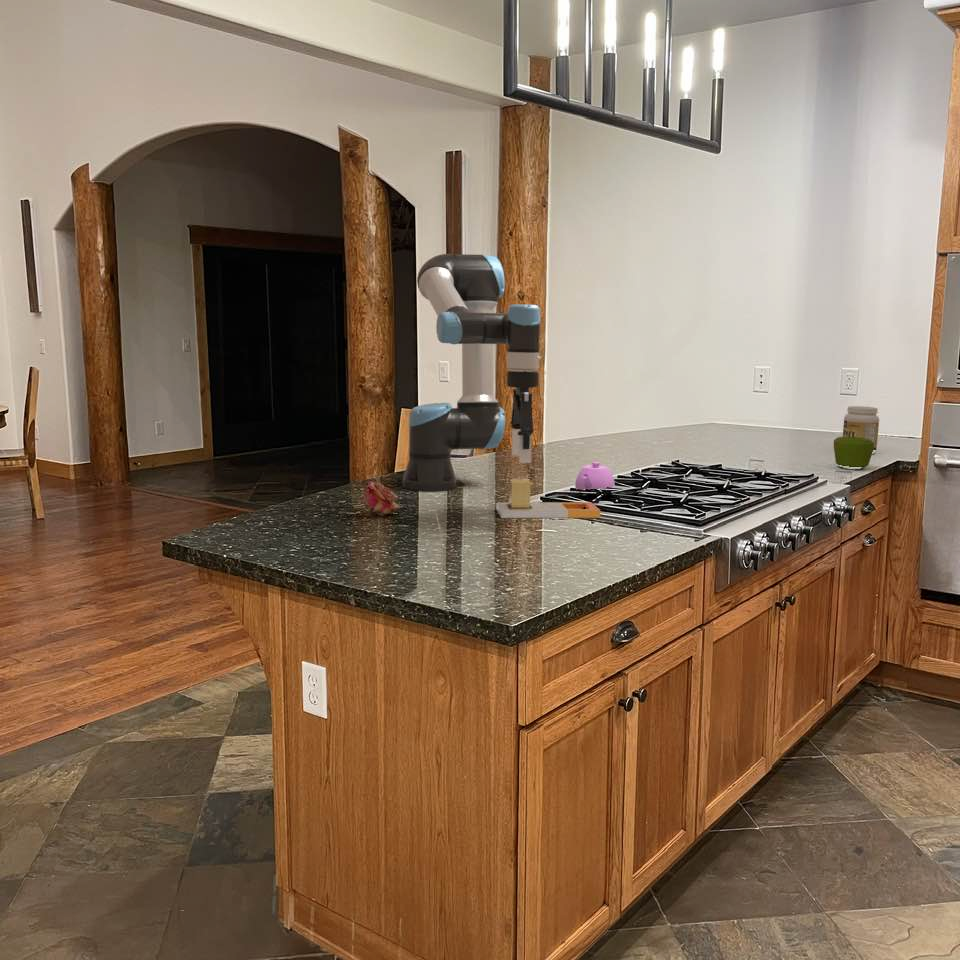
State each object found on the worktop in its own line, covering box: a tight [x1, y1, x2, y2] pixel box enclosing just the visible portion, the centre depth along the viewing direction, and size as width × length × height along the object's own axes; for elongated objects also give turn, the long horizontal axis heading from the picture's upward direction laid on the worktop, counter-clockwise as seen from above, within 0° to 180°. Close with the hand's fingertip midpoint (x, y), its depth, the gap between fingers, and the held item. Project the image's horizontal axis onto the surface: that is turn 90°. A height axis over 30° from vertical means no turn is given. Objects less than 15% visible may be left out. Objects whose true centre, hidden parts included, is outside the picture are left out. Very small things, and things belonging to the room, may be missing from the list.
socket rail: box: [495, 501, 601, 519], centre depth 238 cm, size 24×10×2 cm, turn 96°
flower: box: [363, 480, 402, 517], centre depth 236 cm, size 10×9×8 cm
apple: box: [833, 435, 874, 468], centre depth 323 cm, size 12×12×11 cm
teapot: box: [574, 461, 616, 489], centre depth 264 cm, size 10×15×9 cm
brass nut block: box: [508, 479, 532, 509], centre depth 237 cm, size 4×4×8 cm
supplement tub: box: [842, 405, 880, 451], centre depth 361 cm, size 12×12×17 cm
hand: (520, 459), depth 235 cm, fingers open, 13 cm apart
